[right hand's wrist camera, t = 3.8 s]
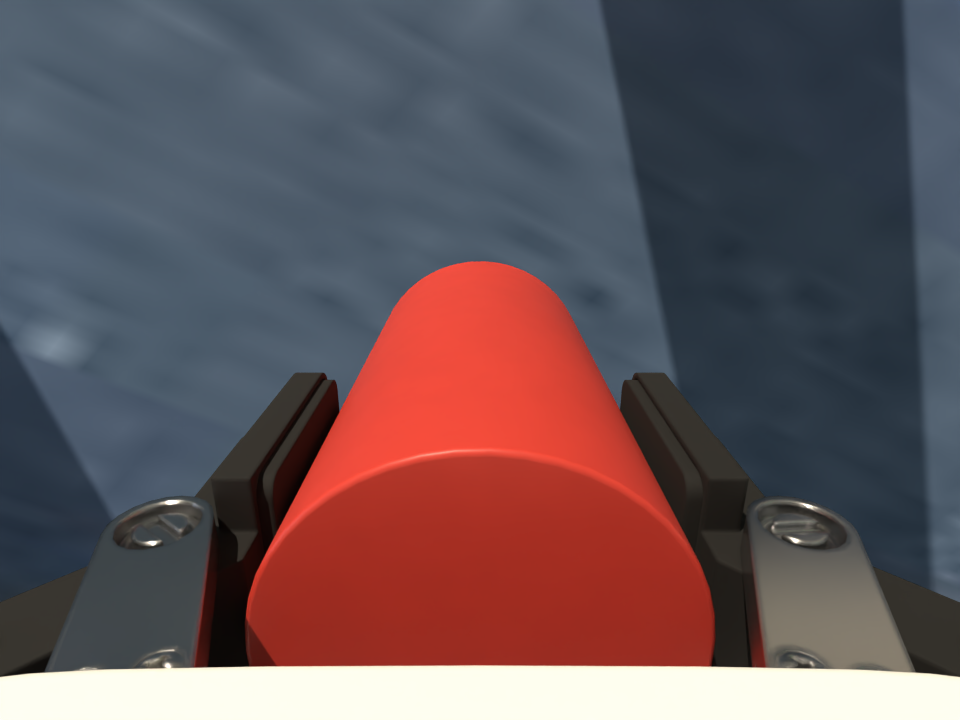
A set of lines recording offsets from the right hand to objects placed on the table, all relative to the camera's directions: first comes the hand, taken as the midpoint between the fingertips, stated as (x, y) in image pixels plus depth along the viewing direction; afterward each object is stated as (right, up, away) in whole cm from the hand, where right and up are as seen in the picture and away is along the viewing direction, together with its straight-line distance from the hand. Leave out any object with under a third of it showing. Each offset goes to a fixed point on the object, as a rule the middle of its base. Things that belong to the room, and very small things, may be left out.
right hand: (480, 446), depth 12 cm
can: (0, +2, +5) cm, 5 cm away
